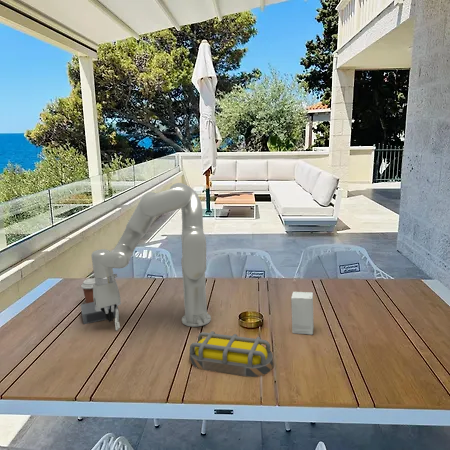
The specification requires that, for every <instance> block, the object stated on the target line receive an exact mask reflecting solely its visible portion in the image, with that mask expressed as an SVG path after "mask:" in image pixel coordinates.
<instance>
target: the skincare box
mask: <svg viewBox="0 0 450 450" xmlns="http://www.w3.org/2000/svg"><path fill="white" fill-rule="evenodd" d="M290 300H291V302H290V303H291V330H292V331H291V332H292V334H299V335H313V334H314V324H315V323H314V292H311V291H310V292H309V291H307V292H306V291H292V294H291V298H290Z"/></svg>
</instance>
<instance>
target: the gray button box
mask: <svg viewBox="0 0 450 450" xmlns="http://www.w3.org/2000/svg"><path fill="white" fill-rule="evenodd" d="M118 307H119V306H117V307H116V308H115V309H114V312H113V314H114V318H113V319H115V315H116V309H118V310H119V308H118ZM107 309H108V311H109V306H108V307H107ZM80 311H81V317H82V321H83V325H86V324H91V323H96V322H101V321H107V320H106V316H105V312H103V311H96V310H95V305H94V302H91V303H86V302H85V303H82V304H80Z"/></svg>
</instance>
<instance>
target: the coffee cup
mask: <svg viewBox="0 0 450 450" xmlns="http://www.w3.org/2000/svg"><path fill="white" fill-rule="evenodd" d="M93 284H95V277H92V278H87V279H85V280H83V281H82V284H81V285H80V287H81V289H82V290H83V295H84V299H85V300H84V301H85V304H86V303H91V302H94V298H93Z"/></svg>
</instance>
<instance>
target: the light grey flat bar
mask: <svg viewBox="0 0 450 450" xmlns="http://www.w3.org/2000/svg"><path fill="white" fill-rule="evenodd" d="M119 319H120V312H119V308H118V309H116V315H115V318H114V325H115V331H119V329H121V326H120V321H119Z"/></svg>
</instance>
